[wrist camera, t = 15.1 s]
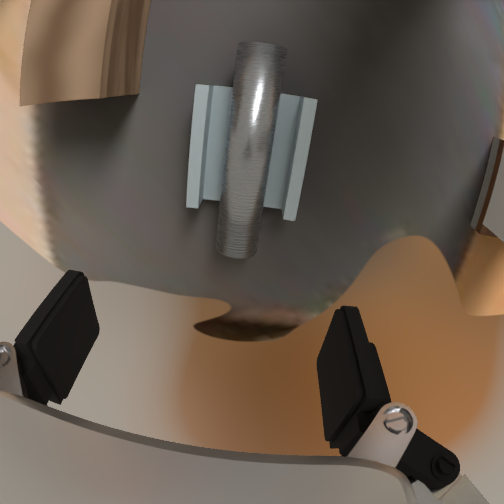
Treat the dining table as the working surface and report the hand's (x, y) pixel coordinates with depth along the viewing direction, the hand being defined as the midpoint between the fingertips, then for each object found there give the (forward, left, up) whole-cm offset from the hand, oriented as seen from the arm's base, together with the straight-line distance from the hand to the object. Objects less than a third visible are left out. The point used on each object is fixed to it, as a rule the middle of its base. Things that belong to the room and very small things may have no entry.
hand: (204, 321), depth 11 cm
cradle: (0, -3, -19) cm, 19 cm away
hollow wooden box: (+14, -12, -19) cm, 27 cm away
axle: (-1, -3, -18) cm, 18 cm away
